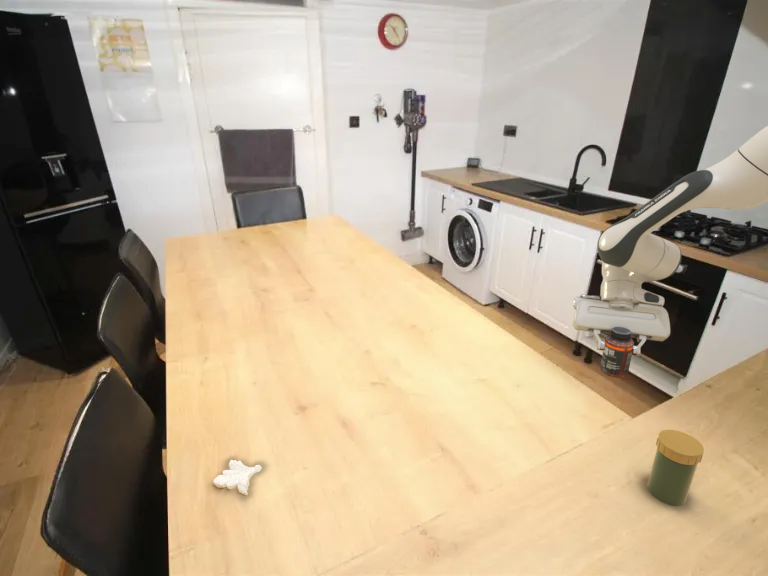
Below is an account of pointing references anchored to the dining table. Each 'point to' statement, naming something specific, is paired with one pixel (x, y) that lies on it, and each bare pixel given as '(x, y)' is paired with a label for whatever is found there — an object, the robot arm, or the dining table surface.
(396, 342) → the dining table surface
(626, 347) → the supplement bottle
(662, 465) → the sauce jar
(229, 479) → the acanthus leaf ornament
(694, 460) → the lid
